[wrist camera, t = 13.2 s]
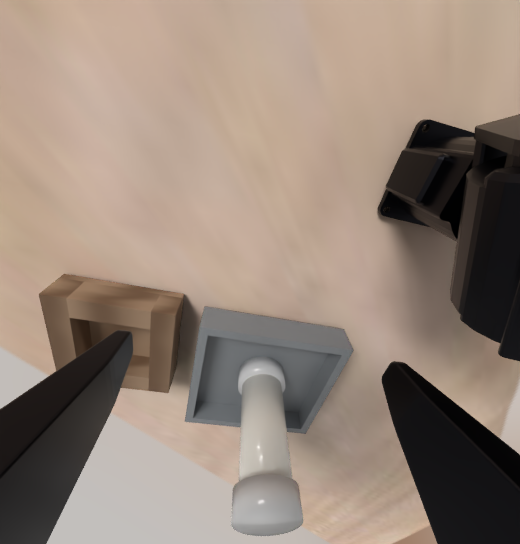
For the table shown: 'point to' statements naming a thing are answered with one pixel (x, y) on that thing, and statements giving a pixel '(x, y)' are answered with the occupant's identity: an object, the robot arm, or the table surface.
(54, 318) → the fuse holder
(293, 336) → the parts tray
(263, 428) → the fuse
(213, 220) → the table surface
